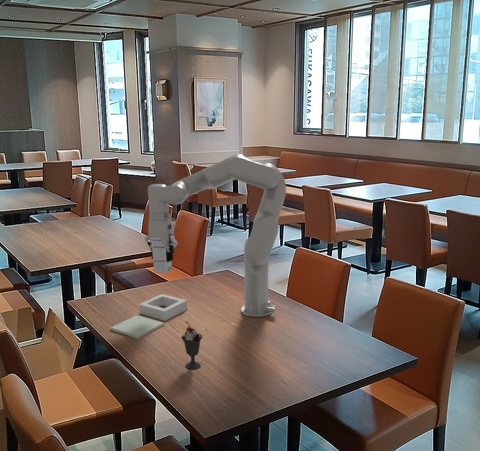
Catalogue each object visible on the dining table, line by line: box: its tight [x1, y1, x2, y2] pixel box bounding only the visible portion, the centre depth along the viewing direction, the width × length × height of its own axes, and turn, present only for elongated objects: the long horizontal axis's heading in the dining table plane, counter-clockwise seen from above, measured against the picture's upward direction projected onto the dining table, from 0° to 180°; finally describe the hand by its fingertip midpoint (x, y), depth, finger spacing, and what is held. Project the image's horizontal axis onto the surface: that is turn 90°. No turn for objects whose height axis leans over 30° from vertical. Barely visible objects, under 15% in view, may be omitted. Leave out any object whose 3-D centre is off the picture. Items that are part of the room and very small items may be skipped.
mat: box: [110, 314, 165, 340], centre depth 196 cm, size 14×14×1 cm
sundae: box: [181, 321, 203, 370], centre depth 166 cm, size 7×7×15 cm
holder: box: [138, 293, 188, 322], centre depth 211 cm, size 14×14×4 cm
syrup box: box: [151, 237, 173, 274], centre depth 206 cm, size 6×6×14 cm
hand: (162, 259), depth 206 cm, fingers closed on syrup box, 7 cm apart
